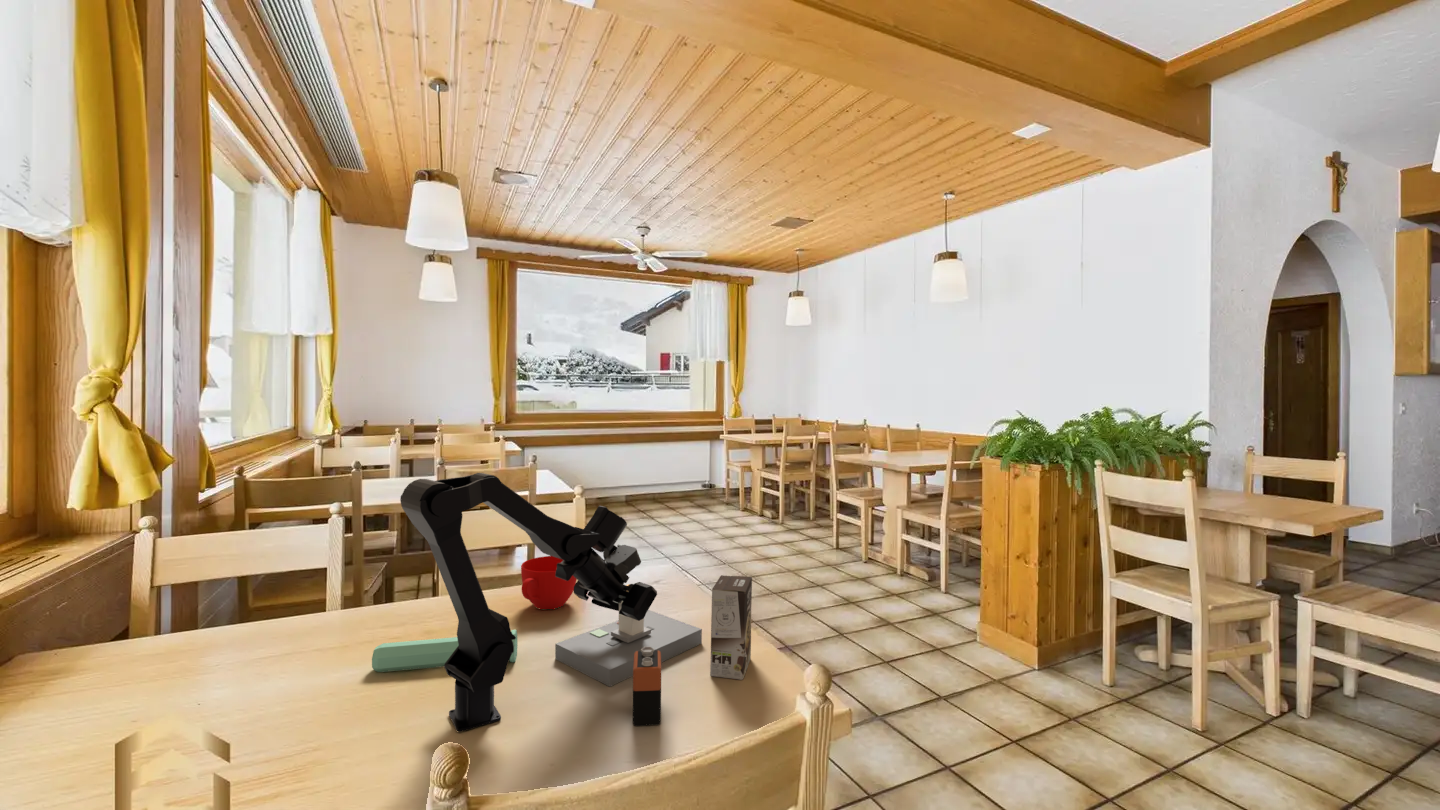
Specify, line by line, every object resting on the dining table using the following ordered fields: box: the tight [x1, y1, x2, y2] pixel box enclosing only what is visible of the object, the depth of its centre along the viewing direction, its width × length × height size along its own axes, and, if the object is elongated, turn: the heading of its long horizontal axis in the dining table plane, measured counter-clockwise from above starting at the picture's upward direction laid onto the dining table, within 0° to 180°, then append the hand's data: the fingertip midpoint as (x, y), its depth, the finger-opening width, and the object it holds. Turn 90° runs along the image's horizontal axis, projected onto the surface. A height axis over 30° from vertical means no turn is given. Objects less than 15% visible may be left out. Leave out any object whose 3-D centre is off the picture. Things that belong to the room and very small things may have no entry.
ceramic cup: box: [520, 555, 578, 610], centre depth 144 cm, size 13×17×10 cm
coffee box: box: [709, 574, 753, 681], centre depth 115 cm, size 9×6×16 cm
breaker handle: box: [611, 583, 651, 643], centre depth 122 cm, size 6×5×9 cm
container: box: [371, 629, 518, 673], centre depth 115 cm, size 6×6×25 cm
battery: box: [632, 647, 662, 727], centre depth 99 cm, size 4×7×10 cm, turn 6°
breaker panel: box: [554, 609, 703, 688], centre depth 122 cm, size 24×16×3 cm, turn 140°
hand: (636, 613), depth 123 cm, fingers closed on breaker handle, 4 cm apart
